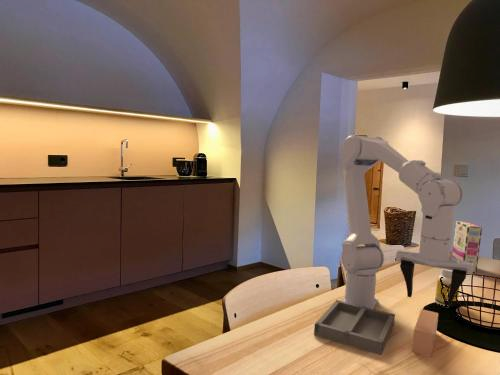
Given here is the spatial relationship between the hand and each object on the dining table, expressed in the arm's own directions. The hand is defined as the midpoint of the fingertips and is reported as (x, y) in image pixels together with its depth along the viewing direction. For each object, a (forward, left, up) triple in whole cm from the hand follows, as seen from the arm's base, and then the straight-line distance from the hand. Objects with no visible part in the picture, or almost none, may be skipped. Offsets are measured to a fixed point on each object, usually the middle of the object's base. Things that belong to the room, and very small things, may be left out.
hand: (429, 299), depth 81 cm
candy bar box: (-70, +7, -10) cm, 71 cm away
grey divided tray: (+3, -14, -9) cm, 17 cm away
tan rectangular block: (0, 0, -10) cm, 10 cm away
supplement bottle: (-27, +3, -10) cm, 29 cm away
